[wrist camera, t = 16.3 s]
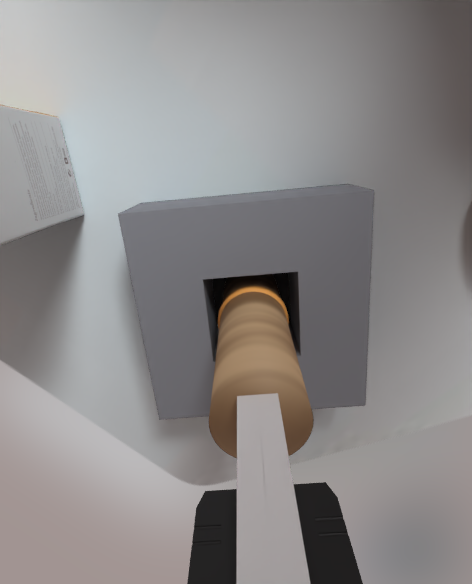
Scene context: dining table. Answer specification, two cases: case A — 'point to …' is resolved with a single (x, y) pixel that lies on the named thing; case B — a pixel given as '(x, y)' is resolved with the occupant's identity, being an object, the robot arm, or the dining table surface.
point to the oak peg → (256, 361)
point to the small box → (34, 174)
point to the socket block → (245, 262)
